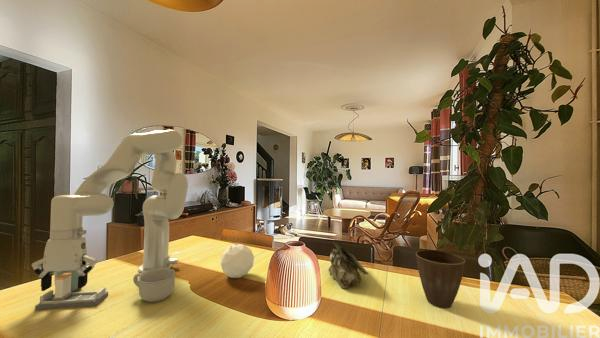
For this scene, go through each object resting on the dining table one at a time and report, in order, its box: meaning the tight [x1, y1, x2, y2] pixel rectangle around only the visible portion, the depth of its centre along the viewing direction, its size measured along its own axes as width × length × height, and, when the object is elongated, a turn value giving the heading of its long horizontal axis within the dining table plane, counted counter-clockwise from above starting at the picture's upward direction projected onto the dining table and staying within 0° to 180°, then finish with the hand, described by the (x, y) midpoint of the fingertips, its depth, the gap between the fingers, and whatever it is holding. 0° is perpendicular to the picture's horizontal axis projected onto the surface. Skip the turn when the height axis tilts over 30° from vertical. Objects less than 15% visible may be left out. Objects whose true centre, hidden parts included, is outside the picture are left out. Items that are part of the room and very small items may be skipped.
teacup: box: [132, 268, 176, 303], centre depth 85 cm, size 14×11×8 cm
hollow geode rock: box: [328, 241, 369, 289], centre depth 108 cm, size 28×13×15 cm
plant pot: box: [415, 249, 466, 309], centre depth 87 cm, size 15×15×16 cm
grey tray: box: [34, 287, 109, 311], centre depth 81 cm, size 16×7×3 cm, turn 102°
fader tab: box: [53, 273, 72, 301], centre depth 80 cm, size 3×4×7 cm
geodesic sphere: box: [220, 242, 255, 279], centre depth 104 cm, size 14×14×14 cm
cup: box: [53, 265, 87, 292], centre depth 88 cm, size 8×8×10 cm
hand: (64, 288), depth 80 cm, fingers open, 9 cm apart
